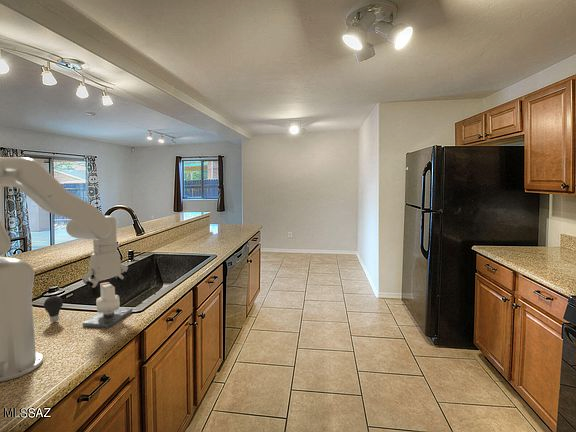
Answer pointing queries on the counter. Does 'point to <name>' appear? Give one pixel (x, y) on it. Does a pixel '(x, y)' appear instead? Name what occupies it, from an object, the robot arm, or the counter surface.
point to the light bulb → (53, 307)
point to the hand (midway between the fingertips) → (107, 292)
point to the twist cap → (107, 298)
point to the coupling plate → (107, 318)
